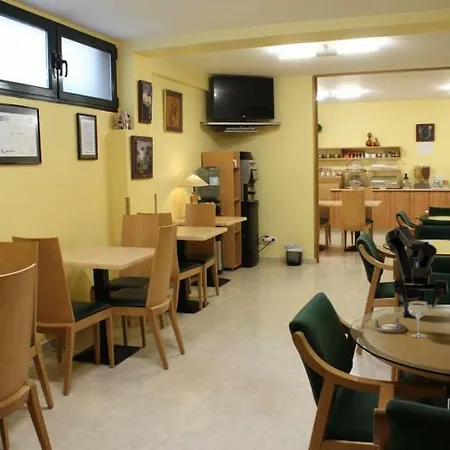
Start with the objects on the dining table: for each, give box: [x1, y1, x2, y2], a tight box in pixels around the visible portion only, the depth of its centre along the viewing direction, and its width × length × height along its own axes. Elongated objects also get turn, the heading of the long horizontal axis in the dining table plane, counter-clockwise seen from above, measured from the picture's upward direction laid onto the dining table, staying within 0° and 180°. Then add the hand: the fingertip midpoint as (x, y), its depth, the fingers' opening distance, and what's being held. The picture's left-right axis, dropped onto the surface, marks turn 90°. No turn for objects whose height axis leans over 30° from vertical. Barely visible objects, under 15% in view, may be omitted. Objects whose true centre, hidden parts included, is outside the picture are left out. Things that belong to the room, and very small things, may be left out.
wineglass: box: [408, 300, 429, 339], centre depth 201 cm, size 7×7×12 cm
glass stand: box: [374, 316, 407, 335], centre depth 211 cm, size 11×11×4 cm
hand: (419, 306), depth 203 cm, fingers open, 9 cm apart
